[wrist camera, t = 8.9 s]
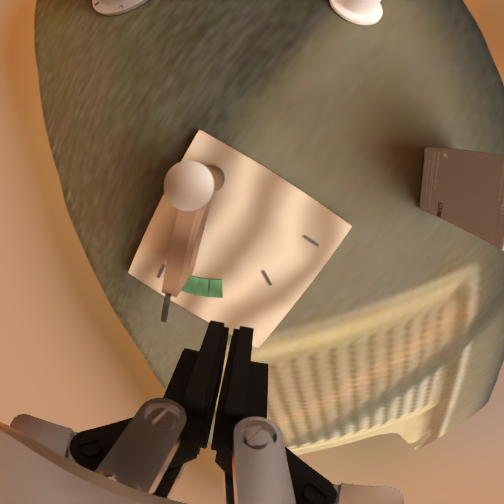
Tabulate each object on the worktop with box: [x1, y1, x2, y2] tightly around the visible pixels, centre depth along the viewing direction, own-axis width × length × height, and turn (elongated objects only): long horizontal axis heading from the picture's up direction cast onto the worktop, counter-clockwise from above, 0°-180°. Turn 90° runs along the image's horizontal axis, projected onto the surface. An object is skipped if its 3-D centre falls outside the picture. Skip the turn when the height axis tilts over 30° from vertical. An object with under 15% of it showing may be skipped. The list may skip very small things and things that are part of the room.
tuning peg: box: [161, 160, 225, 322], centre depth 27 cm, size 16×4×9 cm, turn 163°
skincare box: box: [419, 147, 504, 250], centre depth 21 cm, size 8×7×16 cm
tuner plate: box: [128, 130, 352, 348], centre depth 32 cm, size 20×20×2 cm
